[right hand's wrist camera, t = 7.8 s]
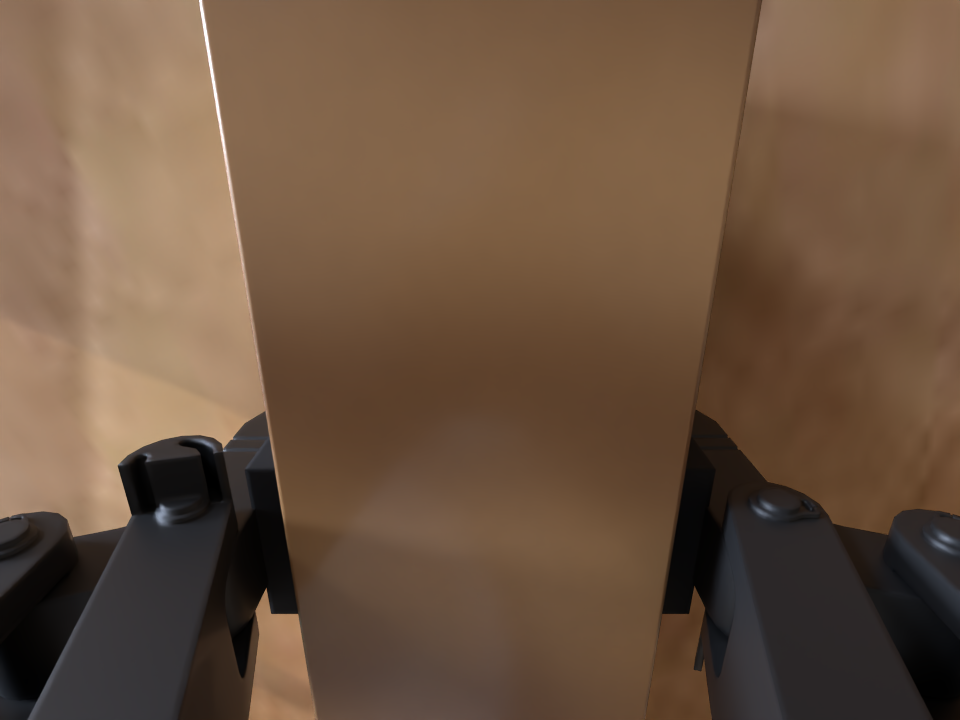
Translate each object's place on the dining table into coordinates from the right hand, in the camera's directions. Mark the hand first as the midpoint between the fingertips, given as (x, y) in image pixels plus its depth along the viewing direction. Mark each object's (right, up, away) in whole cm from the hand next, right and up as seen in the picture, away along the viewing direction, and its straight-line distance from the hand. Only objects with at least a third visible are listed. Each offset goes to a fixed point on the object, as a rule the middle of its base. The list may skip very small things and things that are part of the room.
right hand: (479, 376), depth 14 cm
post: (0, -20, +8) cm, 22 cm away
